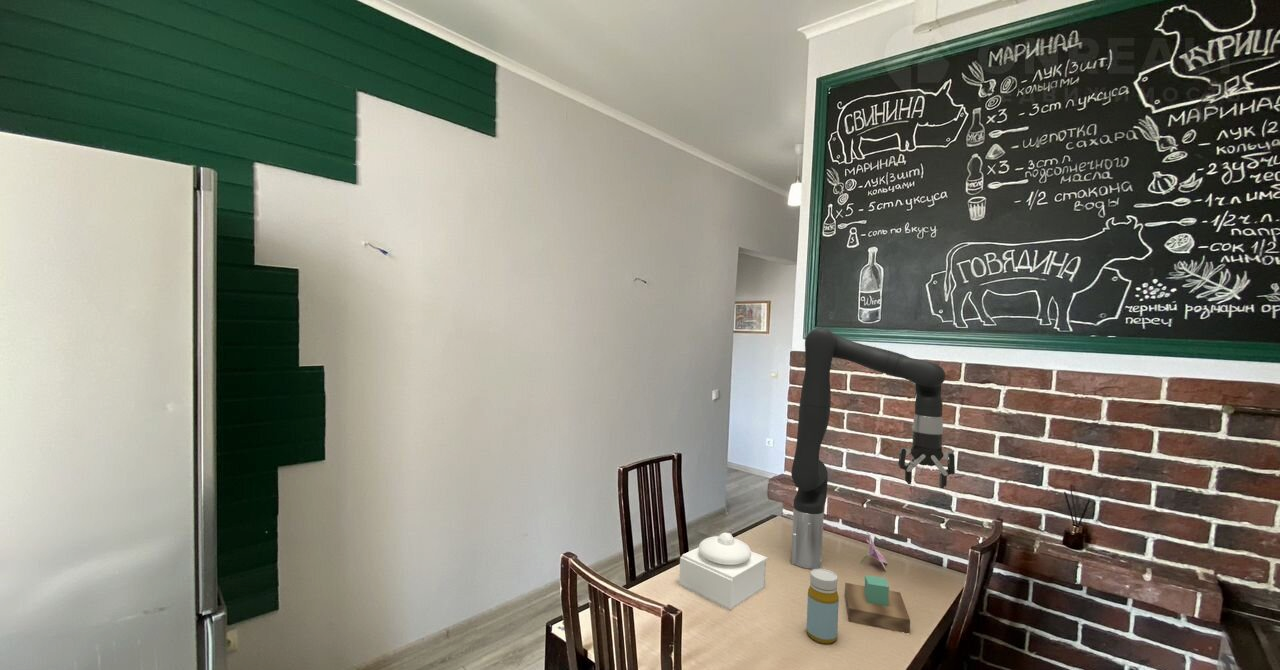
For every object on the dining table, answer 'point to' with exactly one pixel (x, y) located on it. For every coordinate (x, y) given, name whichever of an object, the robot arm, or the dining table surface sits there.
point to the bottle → (822, 606)
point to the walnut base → (876, 610)
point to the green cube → (876, 590)
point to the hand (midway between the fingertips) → (925, 485)
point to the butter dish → (723, 571)
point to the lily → (875, 552)
